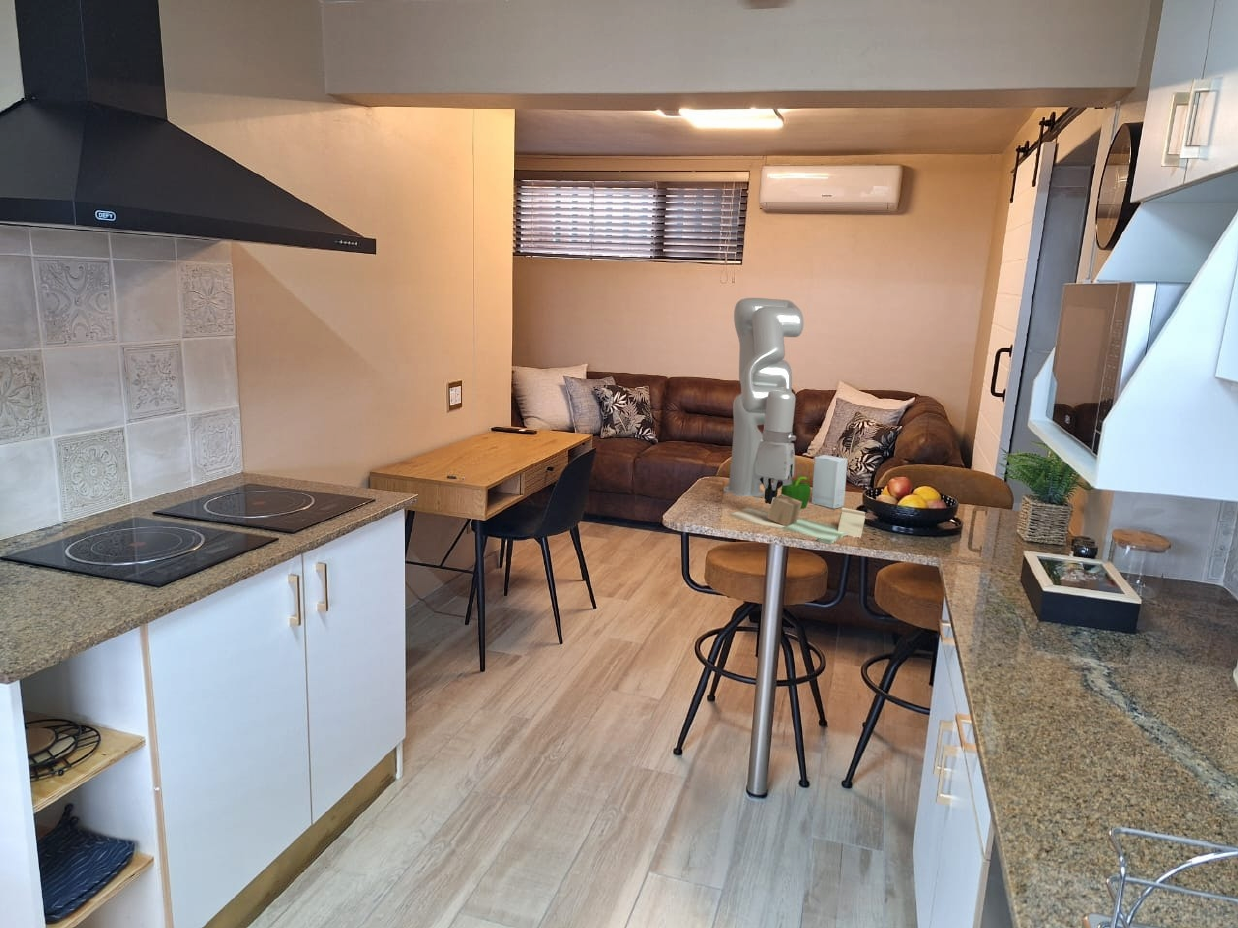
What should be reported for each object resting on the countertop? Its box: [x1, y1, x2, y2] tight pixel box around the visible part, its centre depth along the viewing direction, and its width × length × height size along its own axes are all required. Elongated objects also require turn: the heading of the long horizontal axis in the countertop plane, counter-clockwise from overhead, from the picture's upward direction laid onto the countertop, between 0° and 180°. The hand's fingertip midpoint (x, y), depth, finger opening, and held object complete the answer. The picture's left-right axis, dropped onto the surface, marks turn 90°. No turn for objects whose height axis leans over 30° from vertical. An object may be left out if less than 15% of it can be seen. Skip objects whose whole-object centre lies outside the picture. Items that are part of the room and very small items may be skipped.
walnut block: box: [767, 494, 802, 526], centre depth 220 cm, size 6×6×6 cm
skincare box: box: [811, 454, 848, 509], centre depth 245 cm, size 8×6×15 cm
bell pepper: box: [780, 476, 812, 510], centre depth 238 cm, size 8×8×10 cm
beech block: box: [837, 507, 866, 539], centre depth 217 cm, size 6×6×6 cm
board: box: [726, 506, 846, 545], centre depth 221 cm, size 14×30×1 cm, turn 55°
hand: (770, 502), depth 223 cm, fingers closed
